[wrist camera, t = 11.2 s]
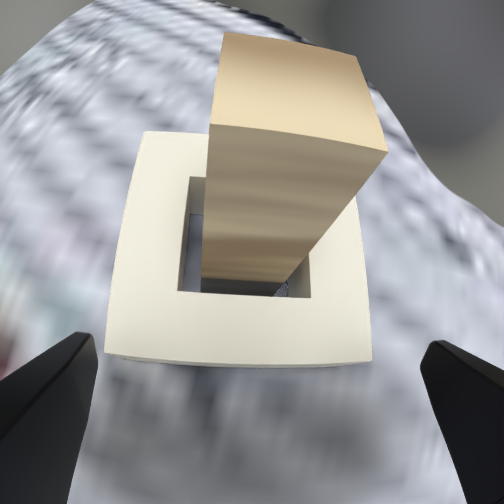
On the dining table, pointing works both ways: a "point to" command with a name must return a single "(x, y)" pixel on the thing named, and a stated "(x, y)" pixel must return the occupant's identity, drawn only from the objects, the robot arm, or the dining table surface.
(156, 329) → the square ring frame
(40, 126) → the dining table surface
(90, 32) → the dining table surface
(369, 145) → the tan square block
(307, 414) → the dining table surface
